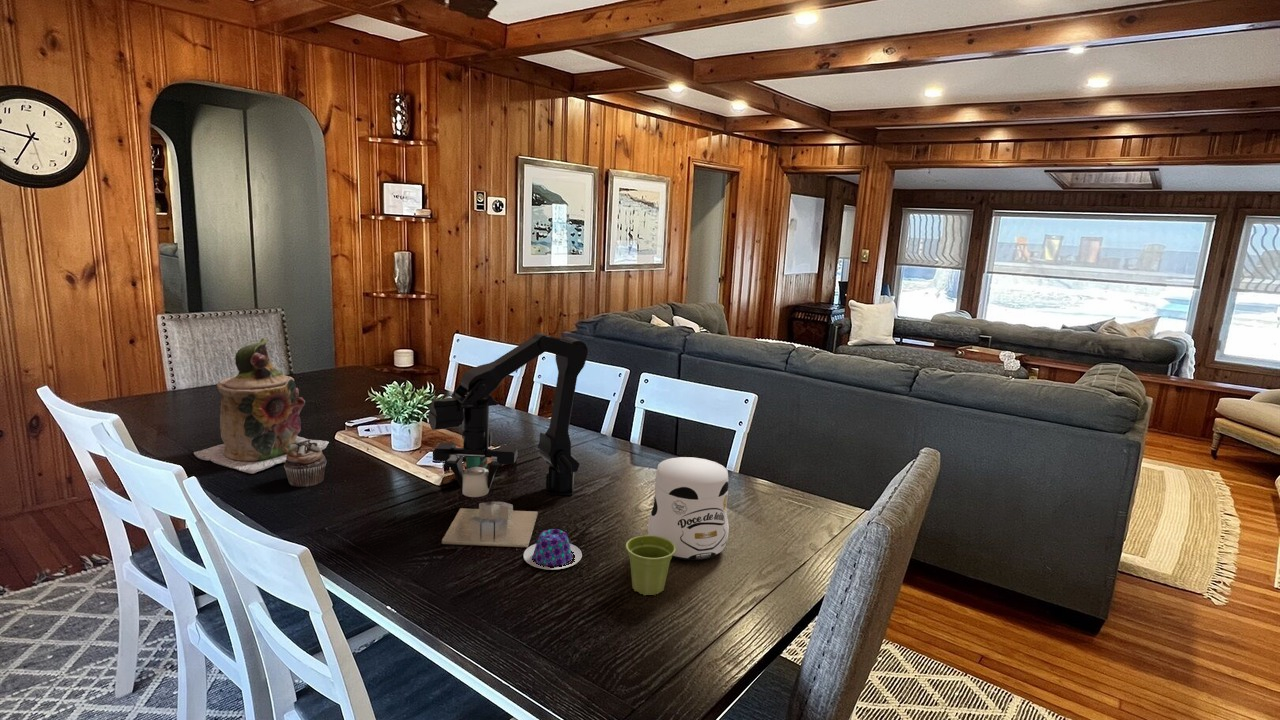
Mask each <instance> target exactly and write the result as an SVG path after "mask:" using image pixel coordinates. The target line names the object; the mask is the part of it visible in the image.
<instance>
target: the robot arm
mask: <svg viewBox="0 0 1280 720" xmlns="http://www.w3.org/2000/svg"><path fill="white" fill-rule="evenodd" d="M543 353H551V354H554V355H555V363H556V367H557V371H558V372H557V380H556V385H555V391H554V397H553V404H552V409H551V416H550V421H549V427H548V428H547V430H546V432H539V442H538V444H537V446H536V448H537V449H538V452H539V455H540V457H541V458H542V459H544V460H545V464H547V465H549V467H548V470H547V471H546V474H545V490H546V494H547V495H555V496H556V495H558V496H573V494H574V488H575V484H574V479H575V478H574V477H575V473H576V472H578V469H579V467H580V462H578V460H576V459H575V458H574V457H573V456H572V442H571V438H570V434H569V430H570V429H569V427H570V422H571V417H572V411H573V410H572V409H573V405H574V404H573V403H574V399H575V392H576V387H577V386H576V385H577V380H578V376H579V374H580V373H581V371H582V370H583V369H584V367H585V366H586V365H585V364H586V361H587V358H588V356H589V347H588V346H587V344H586V343H585V342H583V340H579V339H577V338H573V337H571V336H564V337H561V338H559V337H555V336H550V335H547V334H545V333H541V332H537V333H535V334H533V335H532V336H531V337H530V338H529V339H527V340H525V341H524V342H522V343H521V344H519V345H517V346H516V347H514V348H513V349H511V350H510V351H508V352H506V353H505V354H503V355H501V356H500V357H498V358H496V359H495V360H494V361H491V362H489V363H485V364H481V365H477V366H475V367H472V368H471V369H468V370H466V371H464V372H463V373H462V375H461V378H460V383H459V384H458V385H457V386H456V388H455V390H454V391H453V392H452V394H451V396H450V397H451V398H444V399H441V398H435V399H434V398H433V399H431V405H430V406H429V409H428V410H429V411H428V413H427V414H428V422H429V426H430V429H431V430H432V431H437V430H446V429H452V428H453V429H454V428H459V426H461V425H463V426H462V427H463V428H462V433H461V436H462V441H463V444H462V445H463V447H457V445H456V443H455V442H443V441H441V442H439V444H437V445H436V447H435V448H434V449H433V451H432V461H433V462H444V465H446V466H449V468H451V469H452V470H451V469H450V470H451V471H452V473H453V474H454V477H455V476H456V478H457V480H456V481H457V482H458V484H459V486H460V488H462V489H463V468H464V466H463V465H464V464H463V462H464V461H463V457H487V459H488V458H489V459H490V458H491V461H490V463H489V466H488V471H489V473H488V489H489V490H490V489H491V487H492V483H493V481H494V477H495V476H496V472H497V470H498V468H502V467H503V466H504V465H514V464H515V462H516V460H517V459H518V457H519V455H518V453H519V452H518V451H519V450H518V448H517V446H516V445H509V444H507V445H505V444H501V445H500V447H499V448H498V449H494V448H493V449H492V448H491V446H492V444H493V434H494V433H493V431H491V430H490V425H489V422H490V420H489V419H490V417H489V416H490V414H489V413H490V407H492V406H498V404H499V402H498V401H496V400H495V398H493V396H492V395H491V394H492V393H493V392H494V391H495V390H496V389H498V387H499V386H500V385H501V383H502V382H503V380H504V379H506V378H507V377H508V376H510V375H511V374H512V373H515V372H516V371H518V370H519V369H521V368H522V367H524V366H525V365H528V363H530V362H532V361H533V360H534V359H536V358H537V357H540V356H541V355H542V354H543ZM489 448H490V449H489Z"/></svg>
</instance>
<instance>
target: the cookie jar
mask: <svg viewBox="0 0 1280 720" xmlns="http://www.w3.org/2000/svg"><path fill="white" fill-rule="evenodd" d="M266 345H267V340H266V338H264V337H263V338H261V339H260V341H259V342H256V343H253V344H249V345H245V346H242V347H241V348H240V349H238V351H237V352H236V353H235V358H234V360H235V361H234V362H235V366H236V367H237V370H238V374H237V375H236V376H230V377H227V378H224V379H222V380H220V381H219V382H217V384H216V388H217V390H218V391H219V393H220V394H221V398H220V401H221V403H220V415H219V421H220V422H219V429H220V438H221V440H222V442H223V443H222V444H217V445H215V446H211V447H209V448H203V449H202V450H197V451H193V454H194V456H195V457H196V458H197V459H199V460H202V461H209V462H212V463H214V464H215V465H216V464H217V465H220V466H223V467H226V468H230V469H235V470H237V471H240V472H244V473H248V474H256V473H257V472H261V471H264V470H266V469H269V468H271V467H274V466H276V465H278V464H282V463H285V461H286V460H287V459H286V456H287V454H288V453H289V451H290V450H291V449H290V445H292V444H294V443H300V442H302V441H307V440H309V439H308V438H305V437H301V436H298V435H299V433H300V432H301V428H302V427H301V425H302V424H301V417H300V413H301V411H302V410H303V408H304V406H305V405H306V400H305V399H304V398H303V397H300V396H299V393H300V389H299V388H298V387H297V385H296V382H295V378H293V377H292V376H288V375H286V374H284V373H283V372H281V371H280V370H279V369H277V368H275V366H274V365H273V364H272V363H271V361H270V357H269V353H268V349H267V346H266ZM310 440H311V442H313V443H314V442H315V443H317V445H319V446H321V449H320V450H321V451H323V450H325V449H326V448H327V446H328V444H329V443H330V442H329V441H327V440H320V439H310Z"/></svg>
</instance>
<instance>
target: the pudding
mask: <svg viewBox="0 0 1280 720" xmlns="http://www.w3.org/2000/svg"><path fill="white" fill-rule="evenodd" d="M571 551H572V552H574V553H573V554H574V555H575V558H574V559H575V560H574V561H575V562H573V563H572V564H569V565H566V564H567V563H569V562H571V561H572V559H573V554H572V553H571ZM582 557H583V554H582V551H581V549H580V548H578V546H576V545H574V544H572V543H570V540H569V536H568V534H567V532H565V531H563V530H561V529H558V528H557V529H555V528H549V529H548V530H547V529H546V530H543V531H541V533H540V534H539V535H538V538H537V540H536V543H534V544H532V545H530V546H528V547H526V549H525V550H524V552H523V560H524V561H525V562H526V563H527V564H529V565H530V566H532V567H534V568H538V569H542V570H553V571H554V570H561V569H563V570H564V569H566V568H569V567H572V566H574V565H577V564H578V563H579V562H580V561H581V559H582ZM532 559H533V560H532ZM534 560H535V561H534ZM570 560H571V561H570ZM533 561H534V562H533ZM568 561H569V562H568ZM536 563H538V564H539V565H538V564H536ZM564 564H565V565H566V566H563V565H564ZM540 565H541V566H540ZM555 565H556V566H555ZM557 565H562V567H559V566H557ZM543 566H544V567H543ZM548 566H553V567H554V568H550V567H548Z"/></svg>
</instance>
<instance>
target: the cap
mask: <svg viewBox="0 0 1280 720" xmlns="http://www.w3.org/2000/svg"><path fill="white" fill-rule="evenodd" d="M488 473H489V469H488V468H486V469H485V468H481V467H471V468H468V469H466V470H464V471H463V488H462V495H464V496H465V497H469V498H479V497H484V496H486V495H488V494H489V491H490V489H488Z"/></svg>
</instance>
